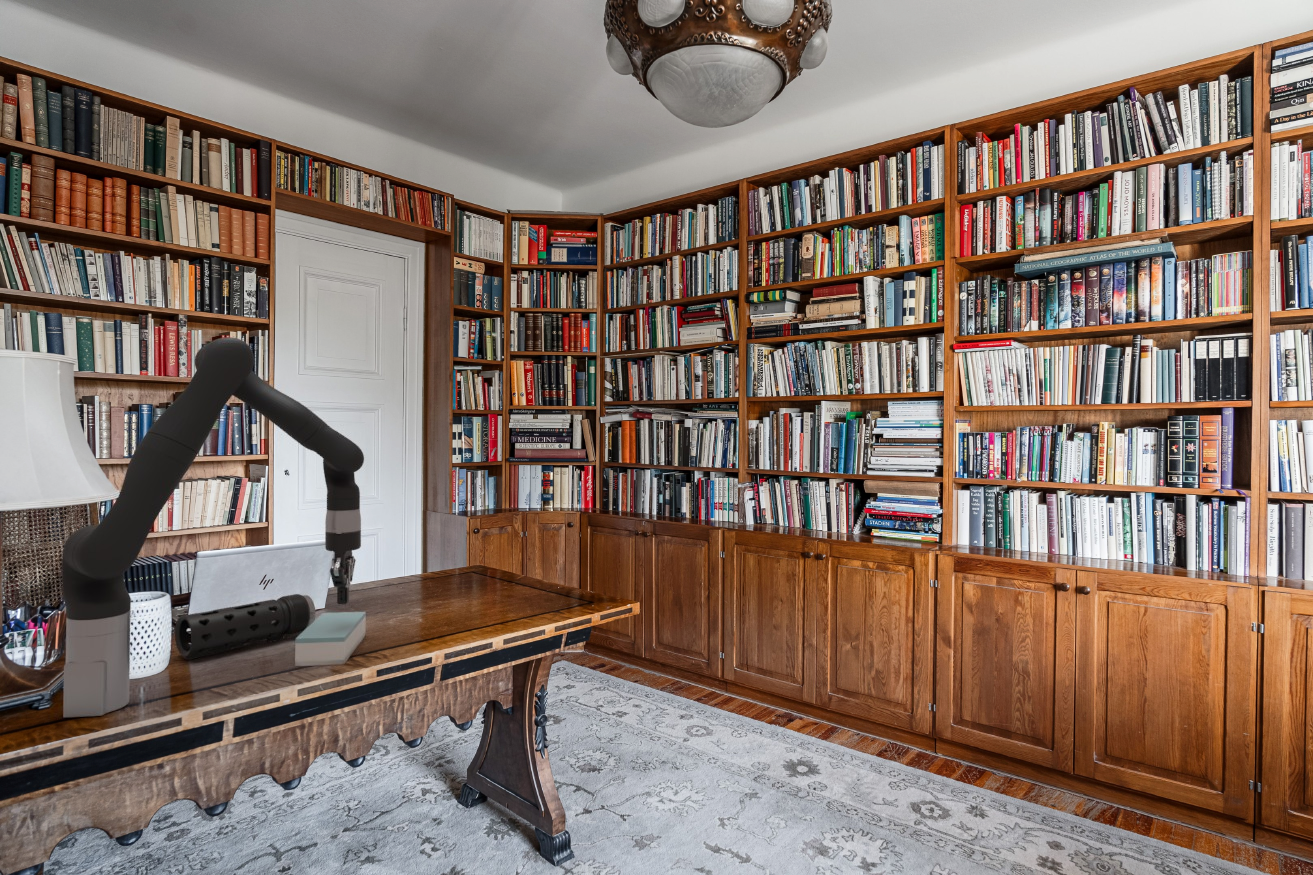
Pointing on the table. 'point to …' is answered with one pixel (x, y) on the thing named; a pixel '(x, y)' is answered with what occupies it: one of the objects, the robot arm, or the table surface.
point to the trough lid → (331, 627)
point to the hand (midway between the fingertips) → (343, 603)
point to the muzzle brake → (242, 625)
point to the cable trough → (329, 649)
